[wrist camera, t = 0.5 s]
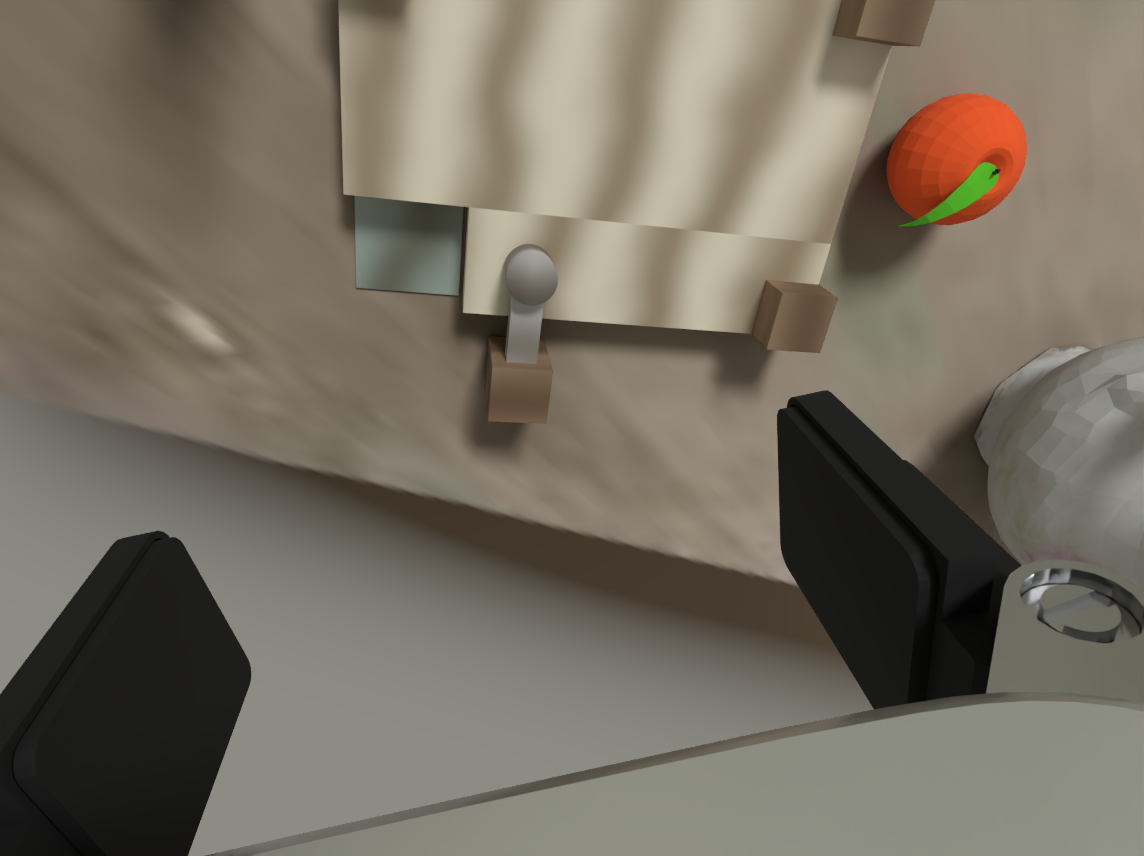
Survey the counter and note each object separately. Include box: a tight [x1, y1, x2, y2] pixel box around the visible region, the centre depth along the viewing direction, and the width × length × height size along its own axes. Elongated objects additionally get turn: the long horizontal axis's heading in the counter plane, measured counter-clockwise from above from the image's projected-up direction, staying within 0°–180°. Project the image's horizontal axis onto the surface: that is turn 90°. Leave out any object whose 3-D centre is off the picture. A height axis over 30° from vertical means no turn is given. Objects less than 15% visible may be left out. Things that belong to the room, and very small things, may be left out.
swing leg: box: [485, 244, 558, 424], centre depth 41 cm, size 10×4×5 cm, turn 173°
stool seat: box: [338, 0, 935, 353], centre depth 37 cm, size 28×20×5 cm
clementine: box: [886, 93, 1027, 226], centre depth 39 cm, size 8×7×7 cm
